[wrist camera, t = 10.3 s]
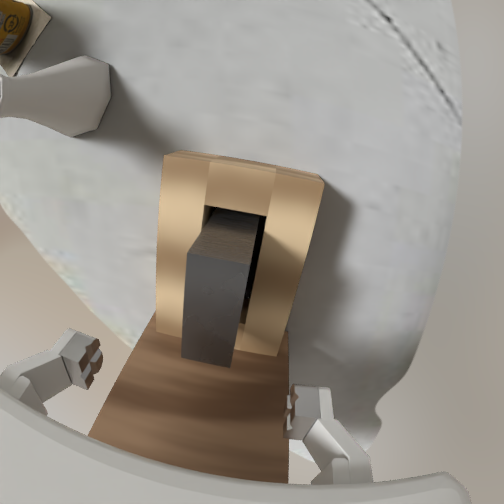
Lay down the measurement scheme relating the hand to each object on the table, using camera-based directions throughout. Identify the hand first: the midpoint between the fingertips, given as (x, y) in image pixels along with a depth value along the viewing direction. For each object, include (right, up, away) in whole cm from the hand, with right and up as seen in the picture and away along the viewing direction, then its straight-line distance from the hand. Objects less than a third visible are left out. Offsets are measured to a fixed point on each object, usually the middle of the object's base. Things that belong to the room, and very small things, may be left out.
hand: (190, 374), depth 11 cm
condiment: (-21, +27, +5) cm, 35 cm away
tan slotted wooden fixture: (+1, +3, +13) cm, 14 cm away
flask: (-12, +18, +8) cm, 23 cm away
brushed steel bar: (+1, +5, +12) cm, 14 cm away
